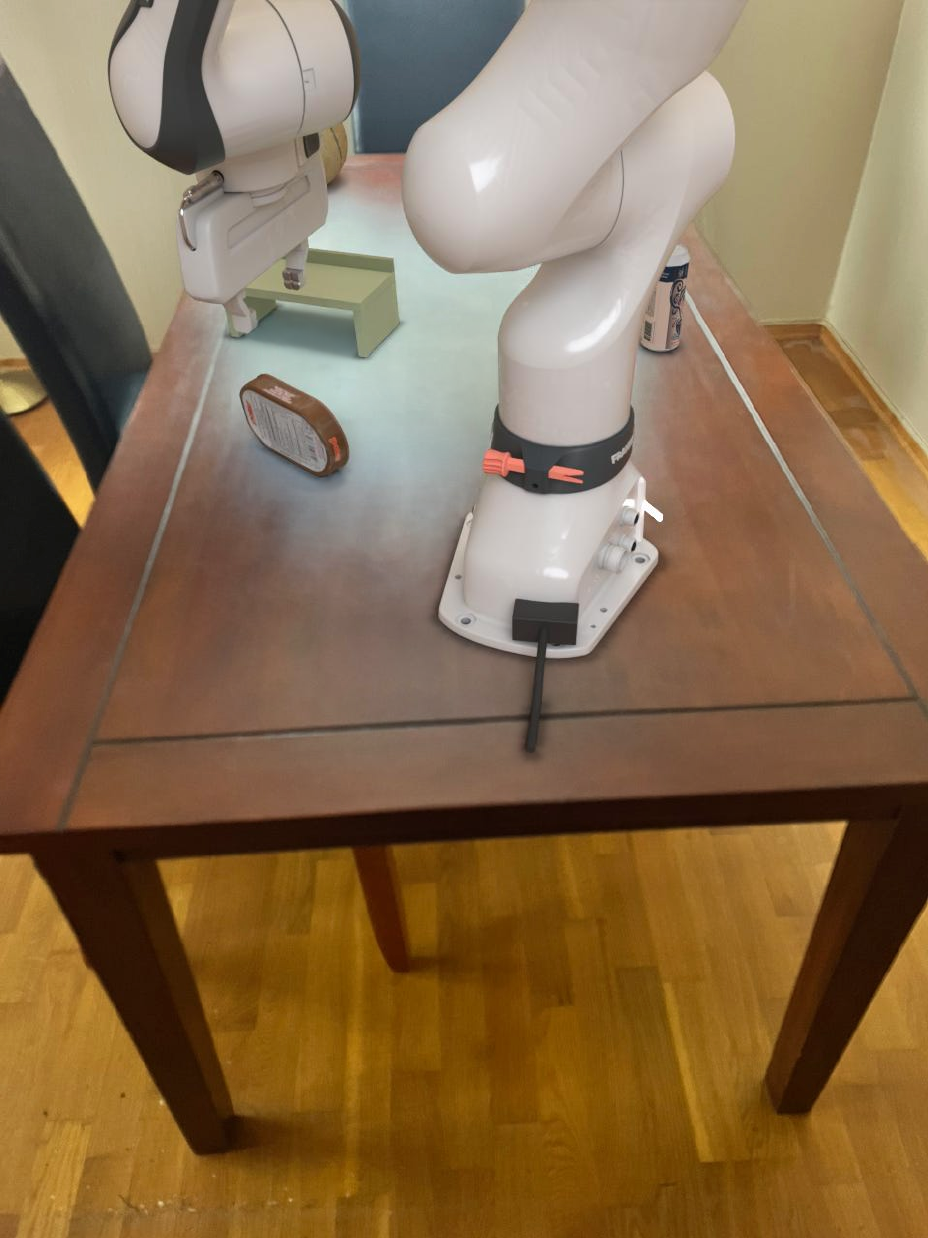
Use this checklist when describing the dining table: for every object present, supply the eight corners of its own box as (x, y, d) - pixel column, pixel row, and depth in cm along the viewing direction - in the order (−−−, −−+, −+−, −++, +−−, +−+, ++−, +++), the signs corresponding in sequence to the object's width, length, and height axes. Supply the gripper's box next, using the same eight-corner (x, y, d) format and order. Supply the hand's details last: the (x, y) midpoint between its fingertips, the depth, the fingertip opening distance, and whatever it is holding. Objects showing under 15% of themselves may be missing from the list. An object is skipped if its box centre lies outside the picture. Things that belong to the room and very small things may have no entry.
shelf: (366, 357, 117) (358, 289, 111) (231, 336, 122) (216, 270, 116) (399, 323, 123) (393, 257, 117) (269, 304, 129) (257, 241, 123)
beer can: (678, 355, 114) (690, 258, 106) (639, 353, 115) (648, 256, 106) (679, 337, 117) (691, 241, 109) (641, 335, 118) (650, 240, 110)
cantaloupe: (353, 170, 170) (343, 78, 160) (350, 198, 159) (339, 101, 149) (273, 175, 170) (257, 83, 160) (264, 203, 159) (247, 106, 149)
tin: (355, 477, 97) (345, 406, 91) (333, 491, 96) (321, 419, 90) (266, 429, 105) (252, 361, 99) (244, 441, 103) (228, 372, 98)
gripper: (209, 201, 72) (243, 363, 81) (331, 121, 85) (348, 269, 95) (141, 192, 73) (183, 352, 83) (271, 116, 87) (294, 261, 97)
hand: (272, 307), depth 89 cm, fingers open, 8 cm apart
